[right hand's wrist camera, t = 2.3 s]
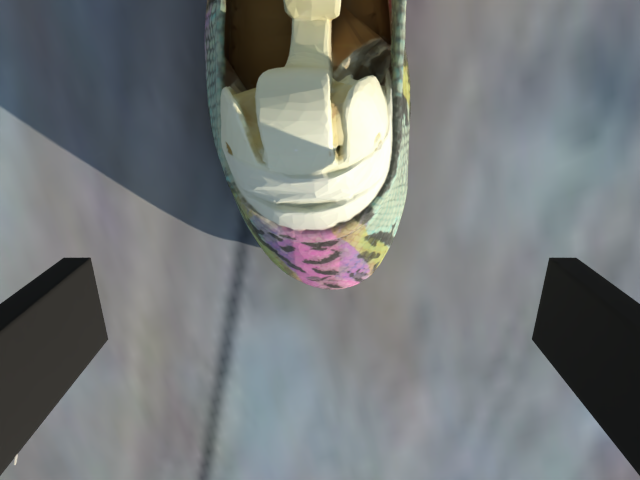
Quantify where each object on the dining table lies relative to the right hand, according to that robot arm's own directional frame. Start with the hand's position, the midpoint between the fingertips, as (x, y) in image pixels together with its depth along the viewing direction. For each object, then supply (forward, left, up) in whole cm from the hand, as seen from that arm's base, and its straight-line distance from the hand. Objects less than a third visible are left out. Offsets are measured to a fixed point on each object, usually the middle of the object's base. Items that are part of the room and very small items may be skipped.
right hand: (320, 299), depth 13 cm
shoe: (+2, +8, -9) cm, 13 cm away
